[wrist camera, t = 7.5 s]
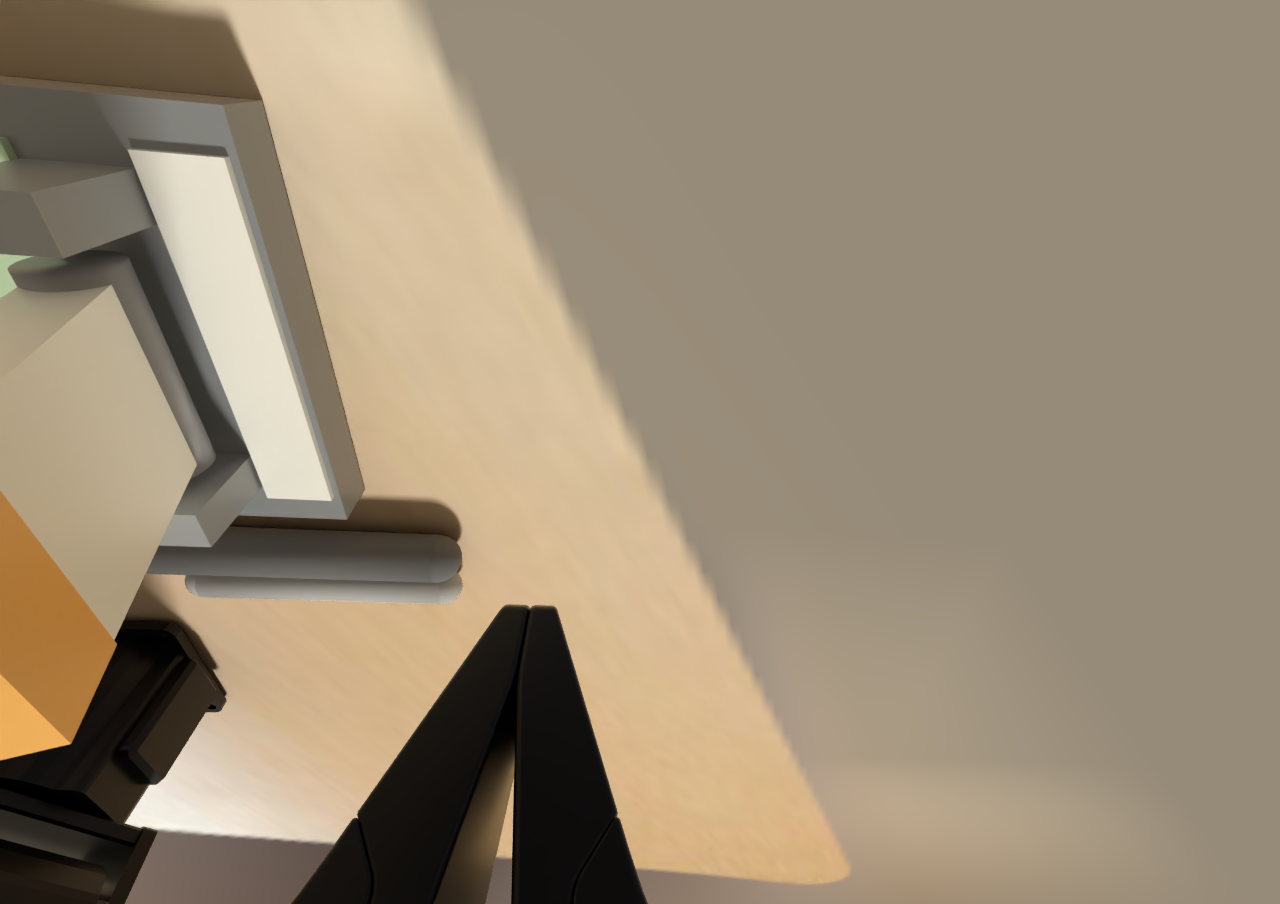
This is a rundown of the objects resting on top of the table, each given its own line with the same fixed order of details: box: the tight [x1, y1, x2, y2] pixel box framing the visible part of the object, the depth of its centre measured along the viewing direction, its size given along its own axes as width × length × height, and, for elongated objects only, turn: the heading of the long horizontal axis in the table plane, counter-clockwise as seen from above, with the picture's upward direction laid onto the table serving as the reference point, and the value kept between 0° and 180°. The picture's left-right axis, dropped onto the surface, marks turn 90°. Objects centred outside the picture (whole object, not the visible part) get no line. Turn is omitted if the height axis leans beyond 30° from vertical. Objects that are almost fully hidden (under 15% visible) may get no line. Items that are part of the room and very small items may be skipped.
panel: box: [0, 76, 365, 547], centre depth 14 cm, size 7×12×4 cm, turn 175°
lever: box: [0, 250, 216, 760], centre depth 11 cm, size 2×6×10 cm, turn 175°
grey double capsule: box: [146, 527, 463, 604], centre depth 21 cm, size 12×3×2 cm, turn 85°
